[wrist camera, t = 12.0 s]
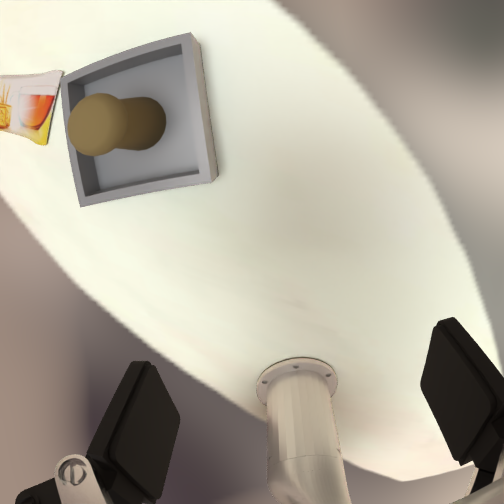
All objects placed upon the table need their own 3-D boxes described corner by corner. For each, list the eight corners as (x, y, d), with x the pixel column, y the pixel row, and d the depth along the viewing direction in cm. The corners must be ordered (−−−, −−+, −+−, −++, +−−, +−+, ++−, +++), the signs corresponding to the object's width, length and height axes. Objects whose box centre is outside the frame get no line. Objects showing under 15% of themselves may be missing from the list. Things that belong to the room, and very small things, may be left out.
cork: (114, 150, 29) (56, 165, 19) (117, 98, 27) (58, 91, 17) (164, 151, 29) (118, 163, 19) (168, 95, 27) (123, 81, 17)
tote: (218, 175, 31) (211, 182, 27) (99, 197, 32) (80, 207, 28) (199, 44, 25) (190, 32, 21) (81, 81, 26) (59, 78, 22)
